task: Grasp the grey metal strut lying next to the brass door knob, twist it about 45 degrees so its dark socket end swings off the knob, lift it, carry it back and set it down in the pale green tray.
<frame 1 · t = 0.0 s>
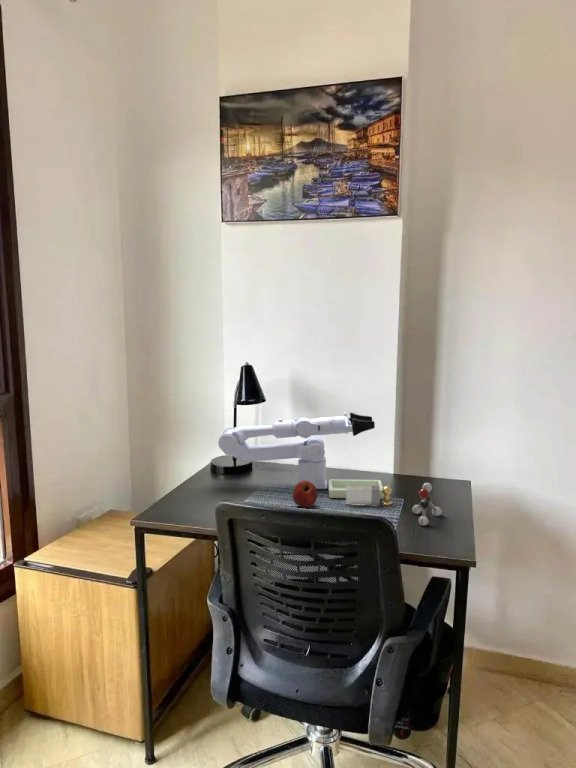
hand: (373, 422, 193), 22 cm above the table, tool horizontal, fingers open, 7 cm apart
tray: (355, 493, 189), on the table
molecular model: (425, 521, 166), on the table
door knob: (386, 503, 179), on the table
strut: (362, 503, 179), on the table
apple: (304, 506, 177), on the table
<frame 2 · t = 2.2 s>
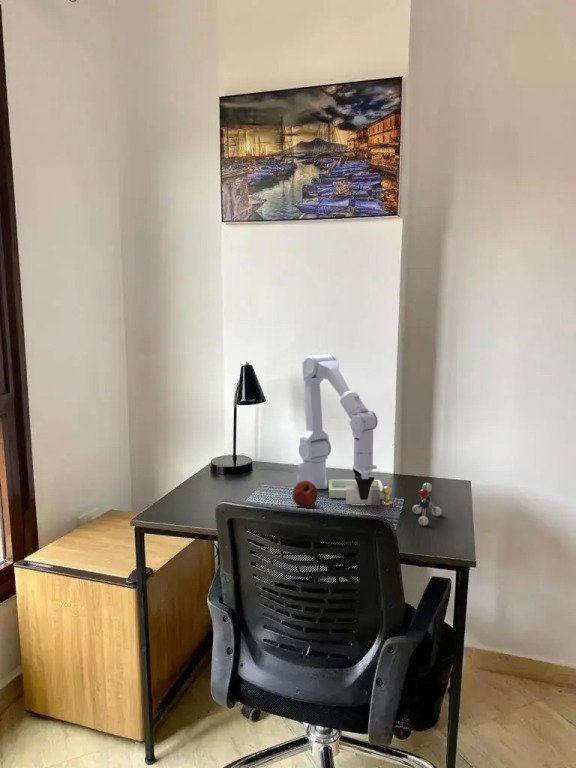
hand: (362, 495, 179), 3 cm above the table, tool pointing down, fingers open, 7 cm apart
nothing on the table moved.
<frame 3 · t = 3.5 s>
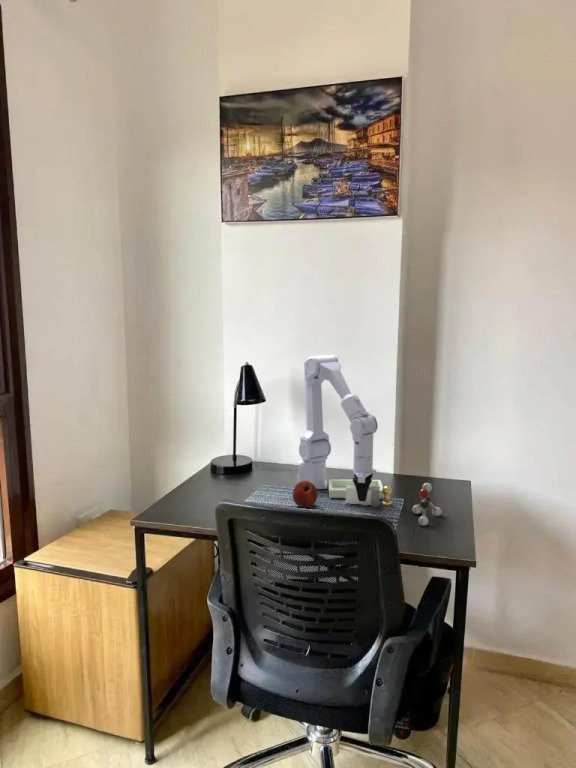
hand: (362, 498, 179), 1 cm above the table, tool pointing down, fingers closed on strut, 3 cm apart
strut: (362, 503, 179), on the table, touching gripper
everything else where it was.
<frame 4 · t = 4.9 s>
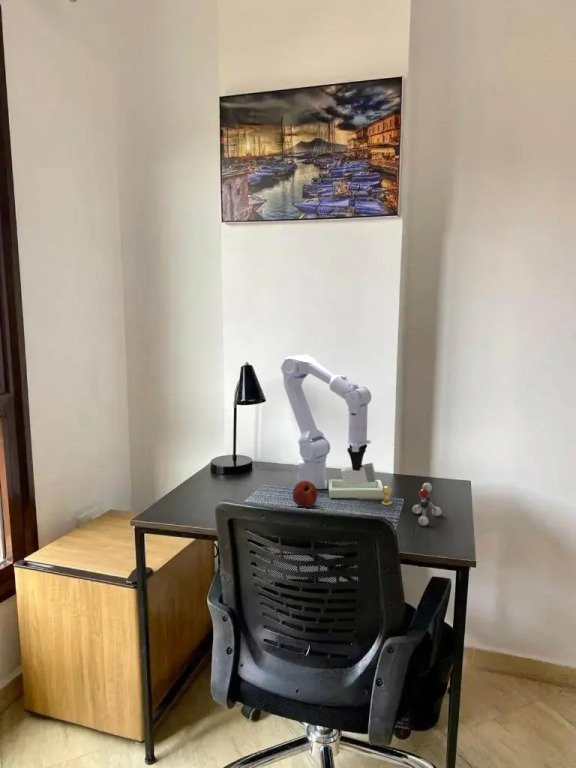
hand: (356, 468, 185), 9 cm above the table, tool pointing down, fingers closed on strut, 3 cm apart
strut: (360, 482, 186), point 4 cm above the table, tilted 14°, touching gripper
everything else where it was.
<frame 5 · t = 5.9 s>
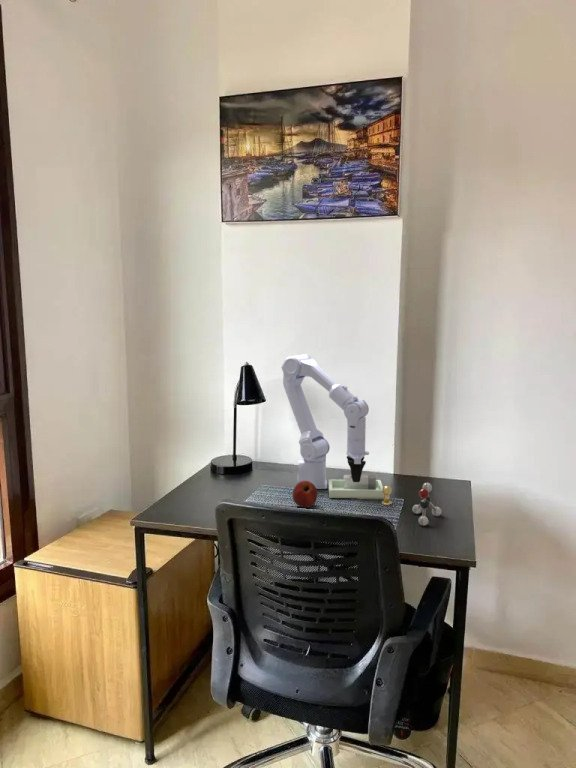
hand: (355, 480, 188), 4 cm above the table, tool pointing down, fingers closed on strut, 3 cm apart
strut: (359, 491, 189), point 1 cm above the table, touching gripper, tray
everything else where it was.
when the fingers open (4 cm above the table, at t = 6.3 s): strut stays where it is, resting on tray.
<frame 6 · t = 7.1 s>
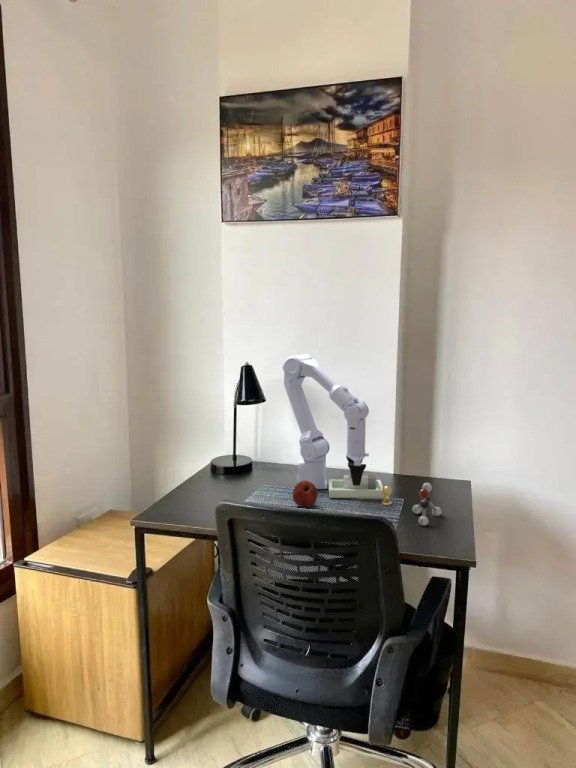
hand: (355, 481, 188), 4 cm above the table, tool pointing down, fingers open, 7 cm apart
strut: (359, 491, 189), point 1 cm above the table, touching tray
everything else where it was.
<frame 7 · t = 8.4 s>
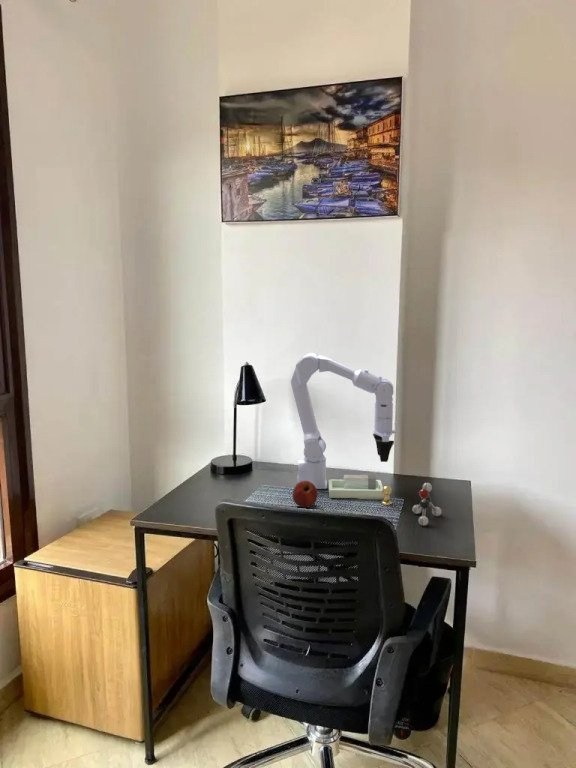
hand: (382, 458, 191), 10 cm above the table, tool pointing down, fingers open, 7 cm apart
nothing on the table moved.
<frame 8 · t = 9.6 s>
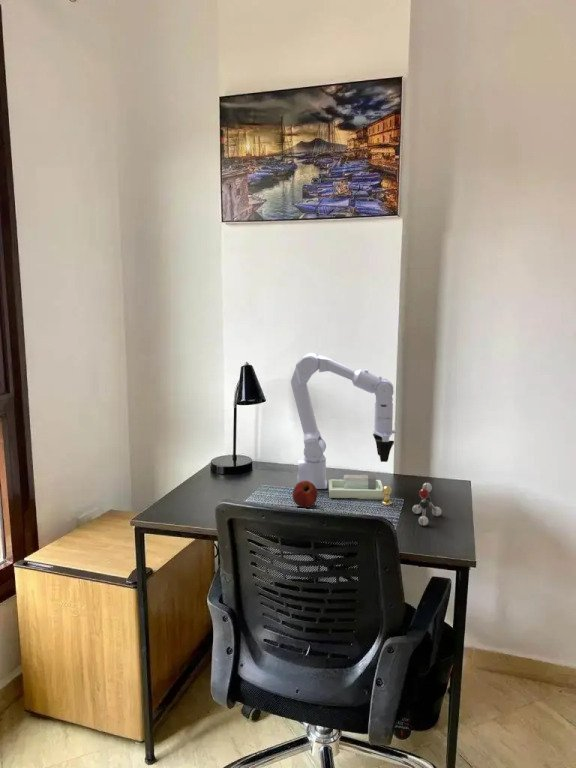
hand: (382, 458, 191), 10 cm above the table, tool pointing down, fingers open, 7 cm apart
nothing on the table moved.
at the end: strut inside the target area on the tray (1.3 cm from its centre), point 0.6 cm above the tray's base; the gripper is holding nothing; strut moved 9.5 cm from its start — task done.
